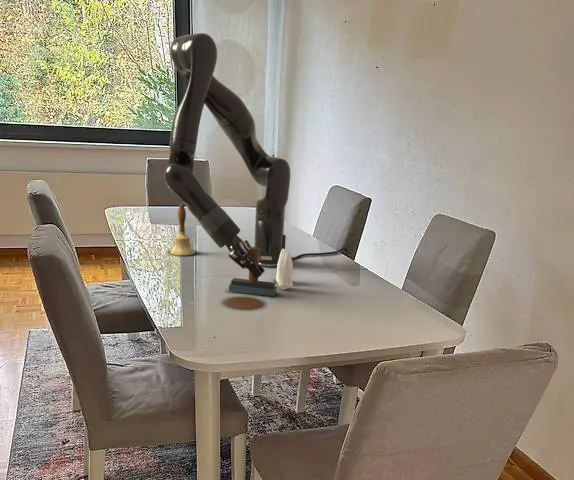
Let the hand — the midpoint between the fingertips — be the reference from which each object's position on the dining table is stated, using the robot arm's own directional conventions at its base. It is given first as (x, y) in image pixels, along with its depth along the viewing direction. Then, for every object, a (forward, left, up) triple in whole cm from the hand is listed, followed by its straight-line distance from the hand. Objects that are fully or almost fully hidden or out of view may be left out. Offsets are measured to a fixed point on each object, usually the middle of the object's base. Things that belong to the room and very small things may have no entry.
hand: (260, 274), depth 176 cm
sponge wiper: (+1, -1, -5) cm, 6 cm away
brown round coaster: (+9, +6, -6) cm, 12 cm away
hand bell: (0, -48, -6) cm, 49 cm away
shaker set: (-11, -3, -6) cm, 12 cm away
